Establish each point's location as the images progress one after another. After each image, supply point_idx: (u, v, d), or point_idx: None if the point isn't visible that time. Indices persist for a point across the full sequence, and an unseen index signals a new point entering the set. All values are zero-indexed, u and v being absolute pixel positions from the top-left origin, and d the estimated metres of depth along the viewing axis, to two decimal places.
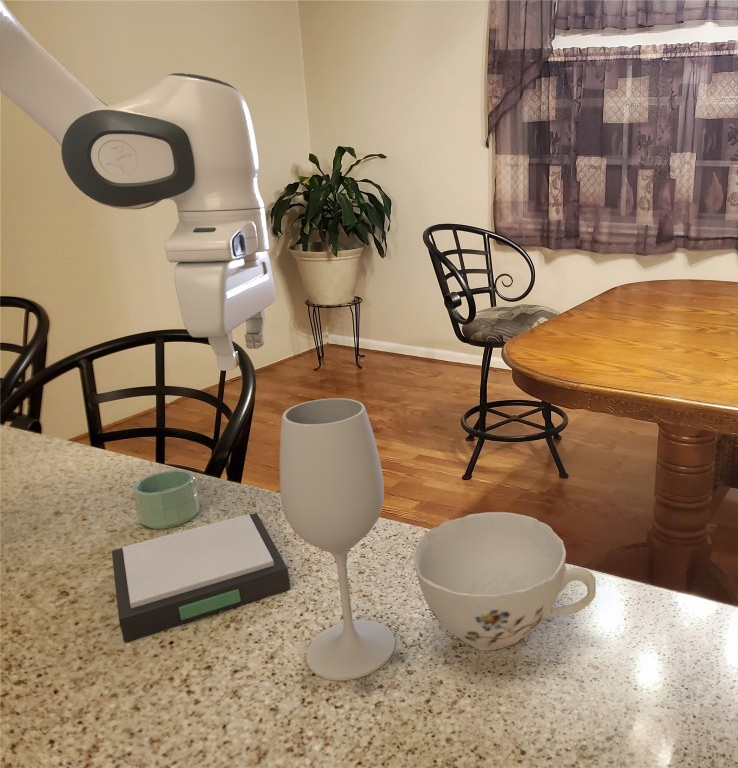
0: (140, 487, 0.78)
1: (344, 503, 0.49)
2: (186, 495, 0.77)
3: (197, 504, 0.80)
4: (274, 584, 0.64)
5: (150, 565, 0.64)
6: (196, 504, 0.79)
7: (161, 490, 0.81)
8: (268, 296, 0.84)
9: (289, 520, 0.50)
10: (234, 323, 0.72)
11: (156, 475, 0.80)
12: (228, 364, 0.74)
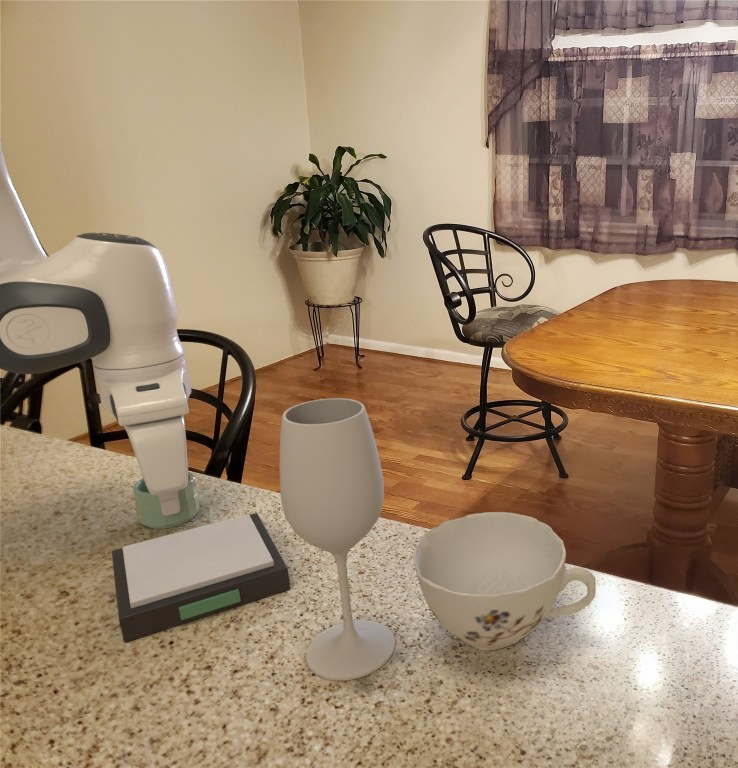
0: (140, 487, 0.78)
1: (344, 503, 0.49)
2: (186, 495, 0.77)
3: (197, 504, 0.80)
4: (274, 584, 0.64)
5: (150, 565, 0.64)
6: (196, 504, 0.79)
7: None
8: None
9: (289, 520, 0.50)
10: None
11: None
12: (173, 508, 0.75)
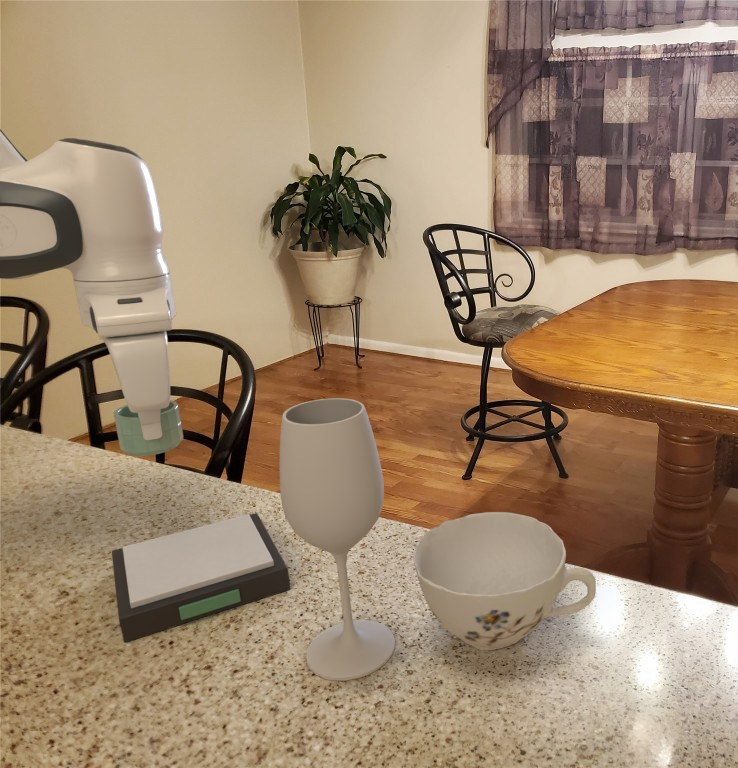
0: (122, 413, 0.76)
1: (344, 503, 0.49)
2: (169, 422, 0.75)
3: (181, 433, 0.77)
4: (274, 584, 0.64)
5: (150, 565, 0.64)
6: (179, 433, 0.76)
7: None
8: None
9: (289, 520, 0.50)
10: None
11: None
12: (155, 432, 0.72)
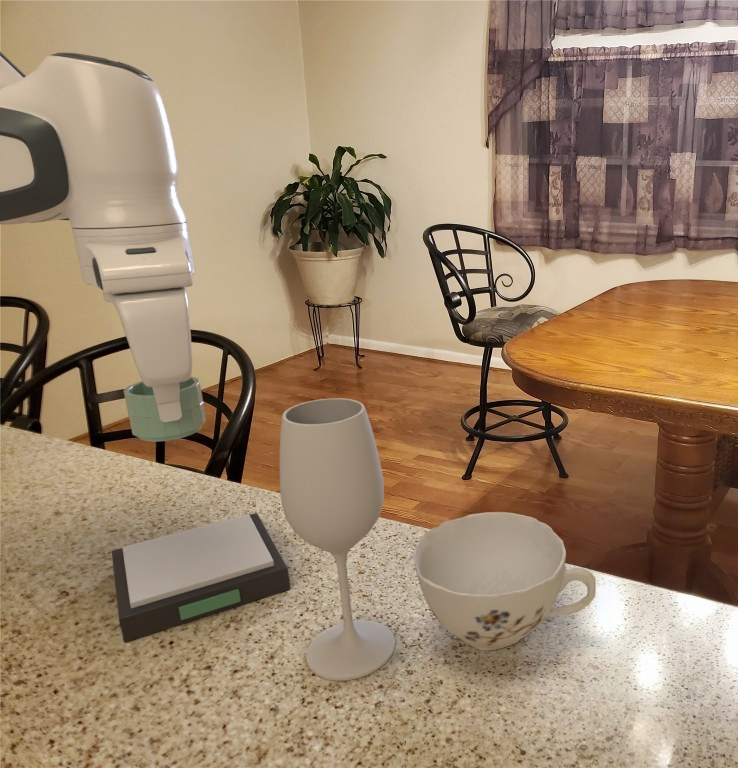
0: (133, 392, 0.64)
1: (344, 503, 0.49)
2: (190, 401, 0.63)
3: (203, 415, 0.65)
4: (274, 584, 0.64)
5: (150, 565, 0.64)
6: (201, 415, 0.64)
7: None
8: None
9: (289, 520, 0.50)
10: None
11: None
12: (173, 413, 0.60)
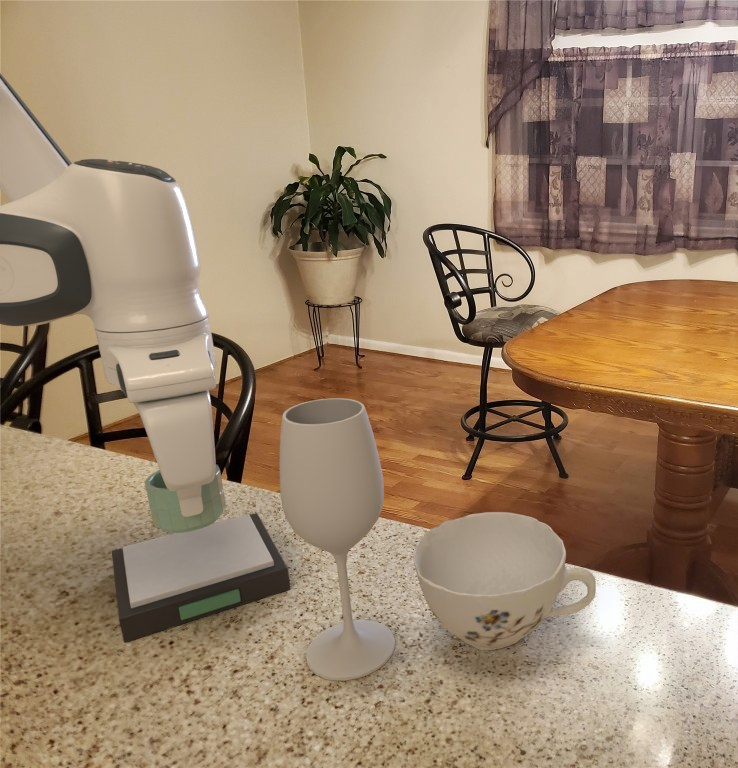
0: (154, 481, 0.64)
1: (344, 503, 0.49)
2: (211, 491, 0.63)
3: (223, 503, 0.65)
4: (274, 584, 0.64)
5: (150, 565, 0.64)
6: (222, 503, 0.65)
7: None
8: None
9: (289, 520, 0.50)
10: None
11: None
12: (195, 507, 0.60)
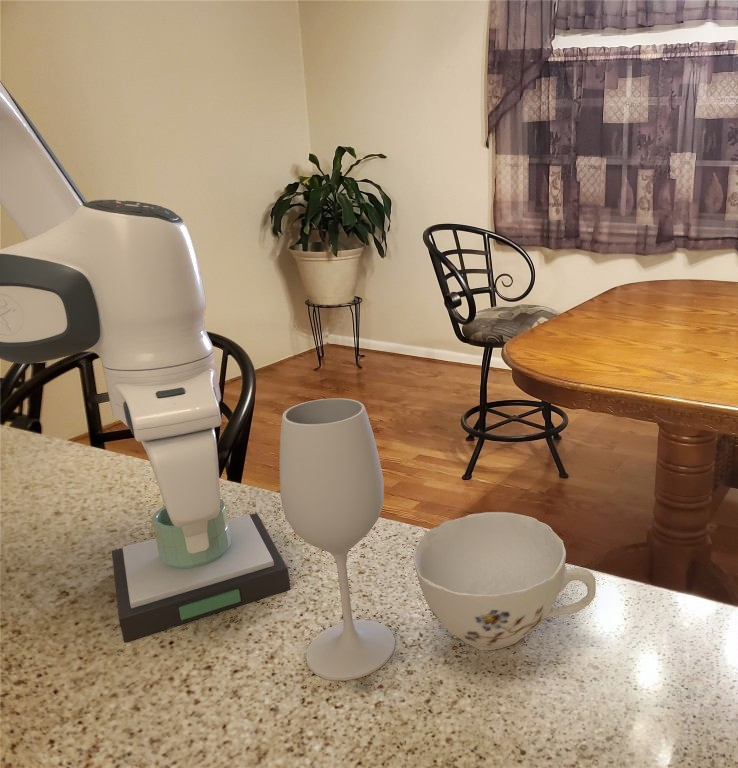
0: (161, 517, 0.65)
1: (344, 503, 0.49)
2: (216, 528, 0.64)
3: (229, 537, 0.66)
4: (274, 584, 0.64)
5: (150, 565, 0.64)
6: (227, 538, 0.66)
7: None
8: None
9: (289, 520, 0.50)
10: None
11: None
12: (200, 544, 0.61)
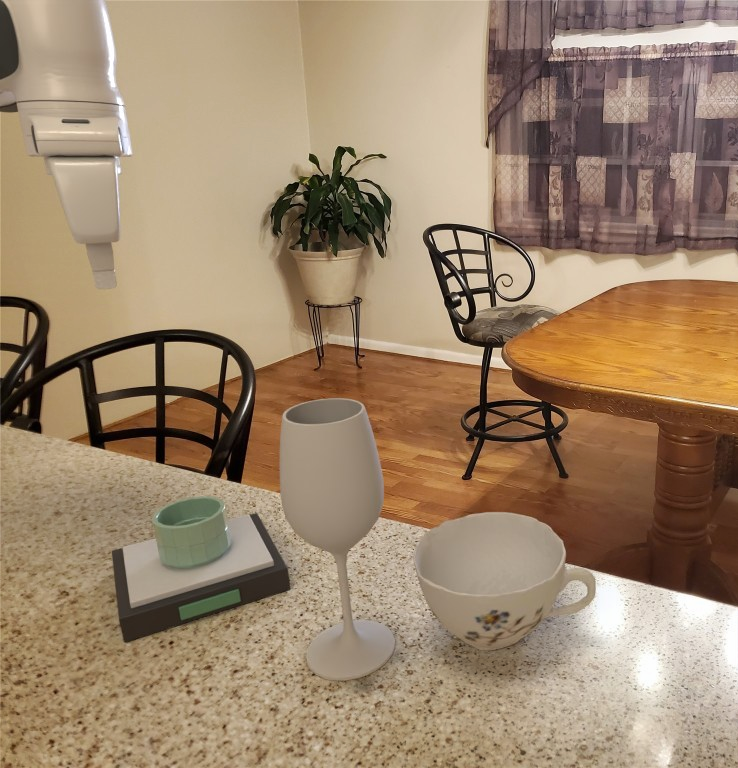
0: (161, 517, 0.65)
1: (344, 503, 0.49)
2: (216, 528, 0.64)
3: (229, 537, 0.66)
4: (274, 584, 0.64)
5: (150, 565, 0.64)
6: (227, 538, 0.66)
7: (185, 520, 0.67)
8: None
9: (289, 520, 0.50)
10: None
11: (180, 502, 0.67)
12: (108, 281, 0.65)
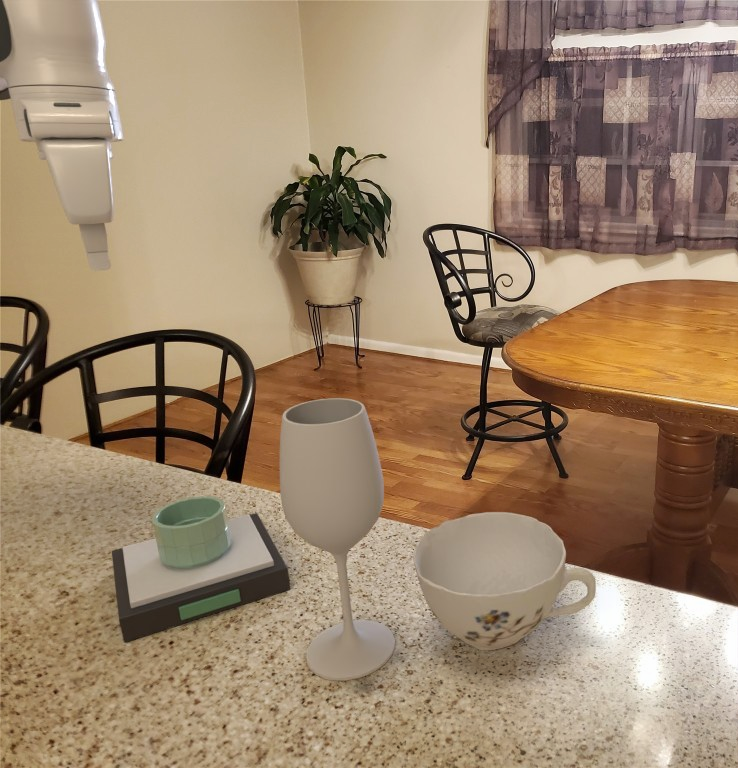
0: (161, 517, 0.65)
1: (344, 503, 0.49)
2: (216, 528, 0.64)
3: (229, 537, 0.66)
4: (274, 584, 0.64)
5: (150, 565, 0.64)
6: (227, 538, 0.66)
7: (185, 520, 0.67)
8: None
9: (289, 520, 0.50)
10: None
11: (180, 502, 0.67)
12: (102, 263, 0.67)
